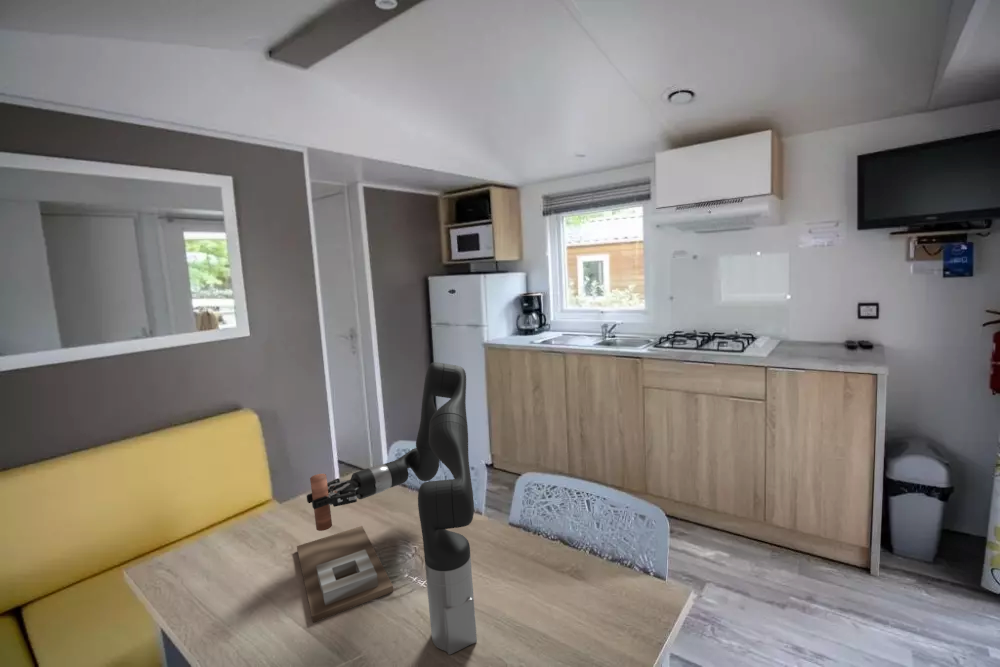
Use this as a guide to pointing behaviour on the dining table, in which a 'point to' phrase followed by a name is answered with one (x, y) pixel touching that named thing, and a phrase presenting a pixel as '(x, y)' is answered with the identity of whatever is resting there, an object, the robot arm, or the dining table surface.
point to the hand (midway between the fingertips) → (310, 502)
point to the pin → (323, 512)
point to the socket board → (333, 553)
